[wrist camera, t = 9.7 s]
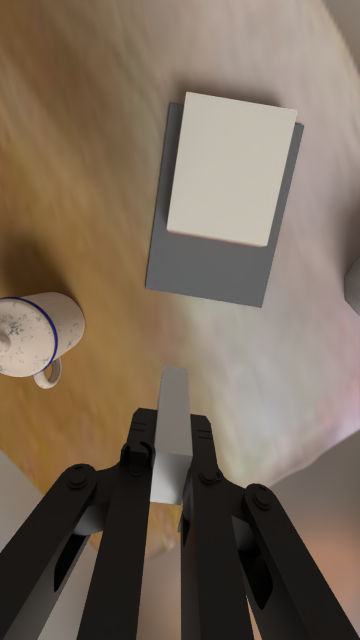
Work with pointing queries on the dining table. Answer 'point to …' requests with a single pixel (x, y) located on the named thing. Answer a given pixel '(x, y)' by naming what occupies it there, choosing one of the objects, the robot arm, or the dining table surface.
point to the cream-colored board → (229, 169)
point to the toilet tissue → (353, 286)
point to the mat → (210, 241)
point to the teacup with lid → (38, 334)
